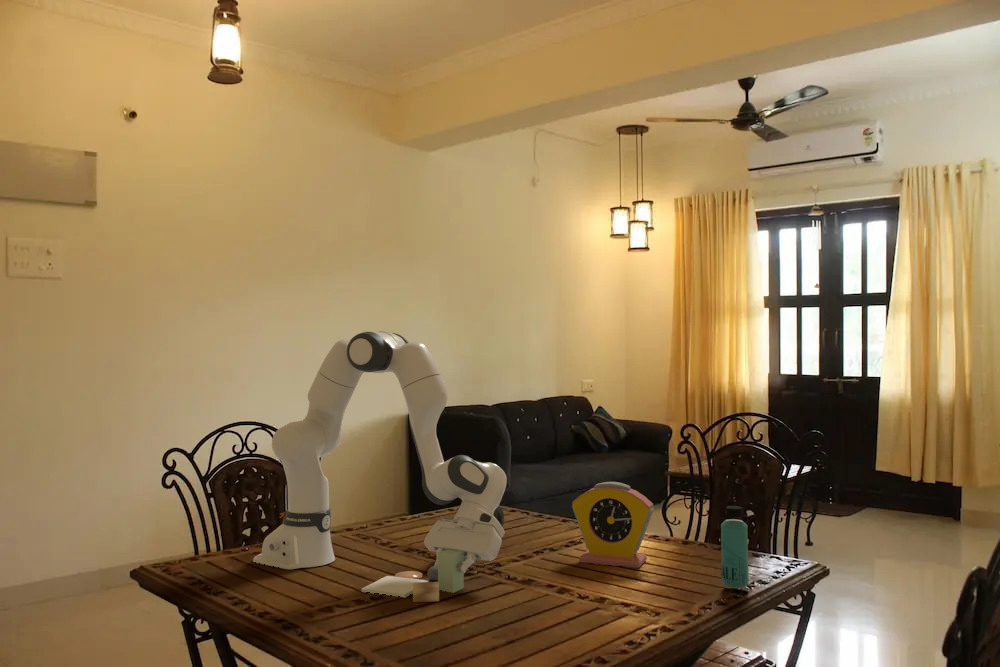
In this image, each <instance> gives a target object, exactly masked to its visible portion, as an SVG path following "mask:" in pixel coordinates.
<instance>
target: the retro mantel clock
mask: <svg viewBox="0 0 1000 667" xmlns="http://www.w3.org/2000/svg"><path fill="white" fill-rule="evenodd" d="M571 503H572V505H571V508H572V510H573V513H574V516H575V519H576V522H577V525H578V527H579V531H580V532H581V536H582V539H583V542H584V544H585V546H586V549H587V550H586V551H585V552H584V553H583V554H582V555H580V556H579V557H578V562H579V563H580V562H581V563H580V564H587V563H594V564H593V565H598V564H603V565H602V566H608V565H611V567H619V566H623V567H622V568H629V567H635V568H634V569H639V568H640V567H641V566H643V564H644V563H645V562H646V561H647V559H648V558H647V557H648V556H647V554H646V553H638V551H639V550H640V548H641V545H642V542H643V539H644V537H645V534H646V531H647V528H648V527H649V526H648V525H649V523H650V520H651V519H652V518H651V517H652V516H653V515H652V514H653V512H654V509H655V508H654V503H653V502H652V501H651V500H649V499H648V497H646V496H645V495H644V494H642V493H640V492H639V491H638V490H636V489H633V488H631V486H630V485H629V484H625V483H623V482H618V481H604V482H599V483H597V484H594V486H593V487H592V488H590V489H589V490H587V491H585V492H584V493H582V494H580V495H579V496H577V497H576V498H575V499H573V501H572V502H571ZM636 567H637V568H636Z"/></svg>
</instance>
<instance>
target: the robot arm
mask: <svg viewBox="0 0 1000 667" xmlns="http://www.w3.org/2000/svg"><path fill="white" fill-rule="evenodd" d="M388 372H391V373H393V374H394V375H395V376H396V378H397V381H398V383H399V386H400V388H401V390H402V393H403V397H404V399H405V403H406V407H407V410H408V417H409V427H410V431H411V436H412V440H413V443H414V445H415V449H416V450H415V451H416V453H417V454H416V455H417V457H418V461H419V464H420V468H421V486H422V491H423V492H424V493H423V494H424V495H425V496H426V498H427V499H428V500H429V501H431V503H434V504H436V505H440V506H444V505H445V506H446V505H449V504H450V503H452V502H453V501H454V500H456V499H458V498H459V499H460V500H461V504H460V505H461V506H460V505H459V507H460V508H459V507H458V509H459V510H458V509H457V511H458V512H457V511H456V514H455V516H454V518H448V517H442V518H441V519H438V520H436V522H434V524H433V525H432V527H431V529H430V530H429V532H428V533H427V535H426V536H425V538H424V541H423V543H424V546H425V547H426V549H427V550H428V551H429V552H432V553H435V555H436V560H435V562H434V564H433V566H435V567H436V568H438V553H439V552H441V551H444V550H447V549H451V550H457V551H463V552H464V557H468V558H467V559H466V560H465V561H464V562H463V563H460V564H459V566H458V568H457V569H458V571H459V572H461V573H464V574H465V573H466V572H467V569H468V568H470V567H471V566H472V565H473V564H474V563H475V562H476V560H481V561H487V562H488V561H489V562H491V561H493V560H495V559H496V558H497V556H498V554H499V551H500V549H501V546H502V540H503V539H502V538H503V537H504V536H505V533H506V532H505V530H504V528H503V526H501V525H500V523H499V522H498V520H497V519H496V518H495V517H494V516H493V514H494V511H495V509H496V508H497V507H498V505H500V503H501V501H502V499H503V496H504V493H505V491H506V487H507V482H508V481H507V480H508V478H507V474H506V473H505V471H504V470H503V469H502V468H501V467H500V466H499V465H498V464H496V463H493V462H481V461H478V460H474V459H473V458H472V457H470V456H469V455H466V454H465V455H464V454H458V455H455V456H453V457H452V458H449V459H448V460H446V461H445V460H444V456H443V453H442V449H441V446H440V442H439V439H438V436H437V424H438V422H439V419H440V417H441V415H442V412H443V411H444V410H445V407H446V405H447V403H448V398H449V396H448V390H447V386H446V383H445V379H444V378H443V375H442V373H441V371H440V368H439V366H438V363H437V362H436V359H435V357H434V356H433V354H432V353H431V352H430V350H429V348H428V347H427V345H425V344H424V343H422V342H420V341H419V342H417V341H411V342H409V341H408V340H407V339H406V338H405V337H404V336H403V335H400V334H398V333H395V332H388V331H383V330H381V331H362V332H360V333H357V334H355V335H354V336H353V337H351V339H347V338H345V339H344V338H343V339H340V340H338V341H337V342H335V343H334V344H333V346H332V347H331V349H330V350H329V351H328V353H327V354H326V356H325V358H324V359H323V362H322V363H321V365H320V367H319V369H318V371H317V373H316V375H315V378H314V380H313V382H312V384H311V386H310V388H309V389H308V392H307V399H308V402H309V403H308V409H307V414H306V416H305V417H304V418H303V420H298V421H290V422H289V423H287V424H285V425H282V427H280V428H278V429H276V431H275V432H274V434H273V436H272V439H271V447H272V452H273V453H274V455H275V457H276V458H277V459H279V460H280V463H281V464H282V466H283V470H284V474H285V477H286V483H287V484H286V485H287V510H285V511H284V512H282V513H279V515H281V516H279V518H283V519H282V524H280V525H279V526H278V527H276V529H274V530H273V531H272V532H270V533H269V534H268V535H267V536H266V537H264V540H263V543H262V548H261V553H259V554H257V555H255V556H254V557H253V559H252V562H253V563H255V562H256V564H259V563H260V564H259V565H264V564H265V566H269V567H270V566H271V567H273V566H274V567H275V568H278V567H279V569H284V570H294V569H295V570H296V569H301V568H302V569H303V568H315V567H319V566H325V565H328V564H331V563H333V562H335V560H336V557H335V556H336V555H335V553H334V550H333V544H332V539H331V538H332V537H331V530H330V529H331V525H332V523H331V522H332V521H331V520H332V518H331V516H332V515H331V512H332V511H331V508H330V482H329V479H328V478H327V476H326V475H325V474H324V472H323V470H322V465H321V461H320V458H321V457H325V456H329V454H331V453H333V452H334V451H335V450H337V449H338V448H339V447H340V445H341V443H342V441H343V431H342V423H343V420H344V414H345V412H346V409H347V407H348V405H349V402H350V400H351V399H352V397H353V395H354V391H355V390H356V388H357V385H358V383H359V382H360V379H361V377H362V375H363V374H364V373H375V374H382V373H388Z"/></svg>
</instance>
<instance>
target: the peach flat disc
mask: <svg viewBox="0 0 1000 667" xmlns="http://www.w3.org/2000/svg"><path fill="white" fill-rule="evenodd" d="M394 577H403V578H411V579H419V578H420V579H421V578H423V573H422V572H420V571H414V570H407V571H400V572H397V573H395V574H394Z"/></svg>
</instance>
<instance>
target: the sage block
mask: <svg viewBox="0 0 1000 667" xmlns="http://www.w3.org/2000/svg"><path fill="white" fill-rule="evenodd" d="M463 562H464V552H463V551H457V550H451V549H447V550H444V551H441V552H439V553H438V580H437V582H439V591H440V590H442V591H441V592H445V591H446V592H447V593H450V592H451V594H452V593H453V594H455V593H456V592H458V591H461V590H463V589H464V588H465V573H461V572H459V571H458V569H457V568H458V566H459V564H460V563H463ZM446 592H445V593H446Z"/></svg>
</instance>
